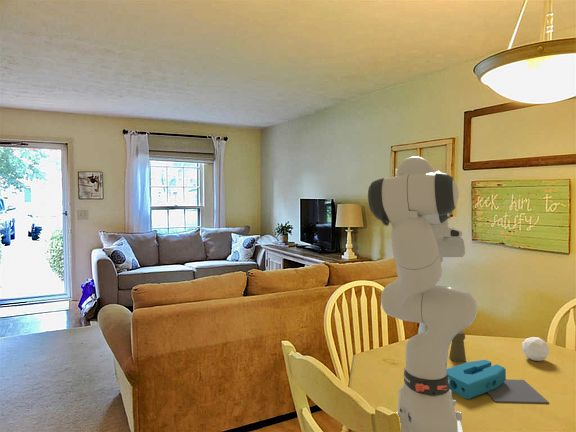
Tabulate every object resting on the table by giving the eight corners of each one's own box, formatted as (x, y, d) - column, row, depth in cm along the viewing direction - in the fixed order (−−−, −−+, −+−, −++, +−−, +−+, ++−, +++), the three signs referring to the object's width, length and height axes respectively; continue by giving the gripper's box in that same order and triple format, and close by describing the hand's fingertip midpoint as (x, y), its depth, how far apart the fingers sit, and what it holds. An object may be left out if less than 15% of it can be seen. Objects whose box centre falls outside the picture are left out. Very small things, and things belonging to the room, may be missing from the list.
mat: (549, 403, 123) (549, 402, 123) (495, 402, 124) (495, 400, 124) (523, 380, 138) (523, 379, 138) (475, 379, 139) (475, 378, 139)
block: (479, 370, 145) (439, 384, 136) (479, 357, 145) (438, 370, 136) (510, 384, 134) (469, 400, 125) (510, 369, 134) (469, 385, 125)
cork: (468, 362, 154) (469, 333, 153) (452, 362, 154) (453, 333, 154) (462, 355, 160) (462, 328, 160) (446, 355, 160) (447, 328, 160)
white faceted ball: (558, 360, 150) (539, 351, 162) (549, 336, 151) (531, 329, 163) (535, 367, 151) (518, 358, 163) (526, 343, 151) (510, 336, 163)
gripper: (407, 232, 143) (407, 270, 144) (466, 232, 142) (466, 270, 142) (403, 230, 149) (403, 267, 150) (460, 230, 148) (460, 267, 149)
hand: (434, 269), depth 146 cm, fingers closed
